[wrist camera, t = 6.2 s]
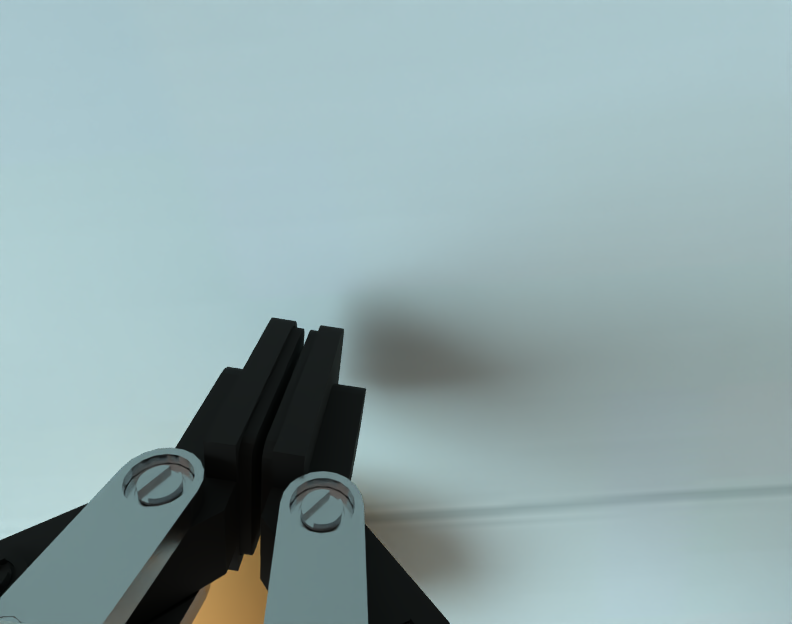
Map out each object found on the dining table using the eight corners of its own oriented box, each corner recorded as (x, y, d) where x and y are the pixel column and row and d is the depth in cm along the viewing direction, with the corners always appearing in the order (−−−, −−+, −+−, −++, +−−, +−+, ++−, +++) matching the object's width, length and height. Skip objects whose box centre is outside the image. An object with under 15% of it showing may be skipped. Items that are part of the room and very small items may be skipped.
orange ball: (325, 803, 14) (370, 582, 18) (349, 761, 10) (398, 497, 15) (119, 747, 14) (216, 541, 19) (67, 685, 10) (204, 448, 15)
